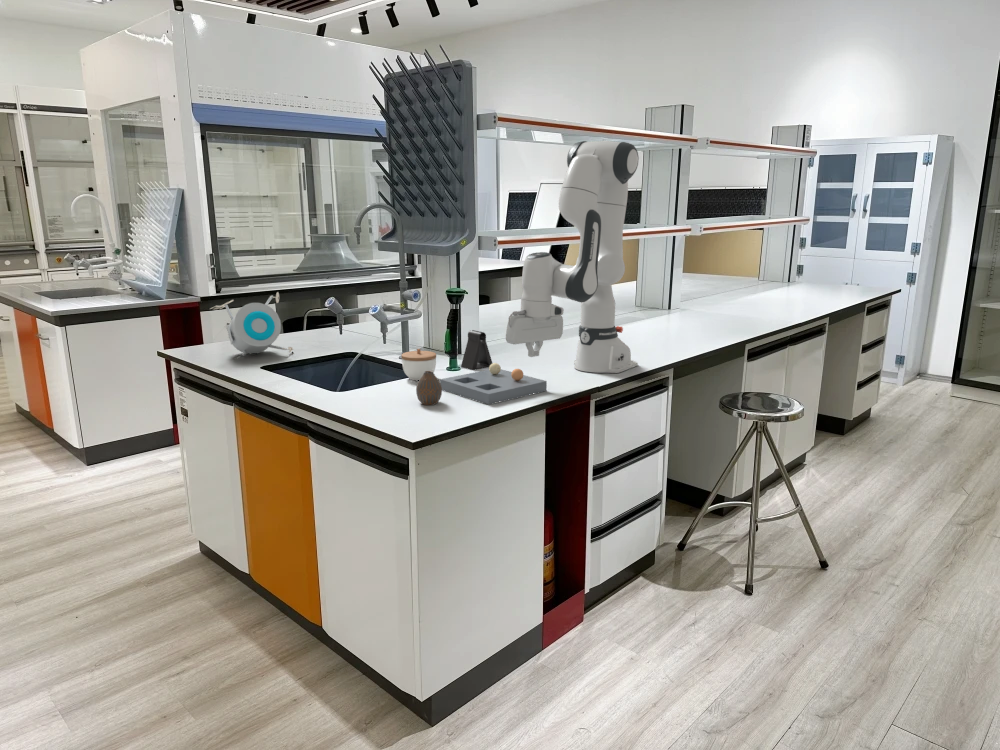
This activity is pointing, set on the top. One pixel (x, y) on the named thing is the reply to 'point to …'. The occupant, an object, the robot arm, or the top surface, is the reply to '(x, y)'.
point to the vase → (429, 389)
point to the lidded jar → (418, 363)
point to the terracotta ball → (517, 374)
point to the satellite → (254, 327)
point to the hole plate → (492, 386)
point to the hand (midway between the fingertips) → (533, 356)
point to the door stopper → (476, 351)
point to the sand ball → (494, 368)
